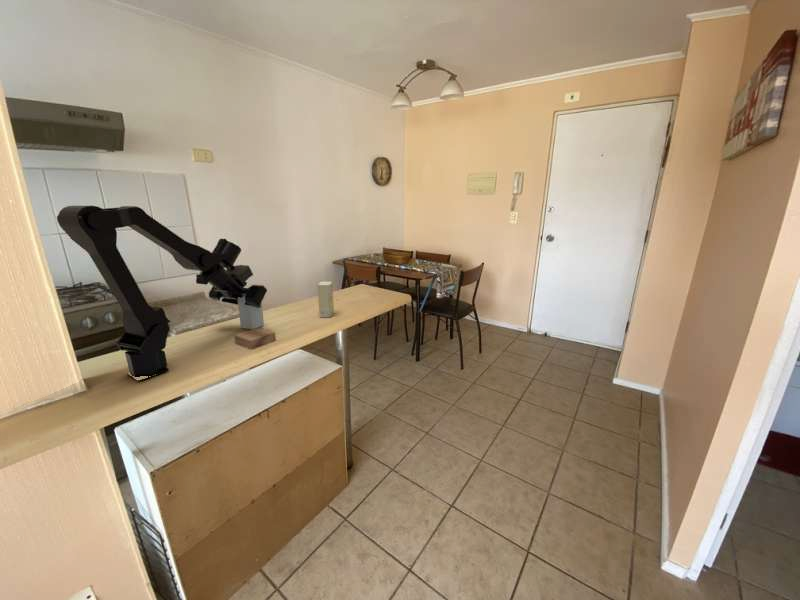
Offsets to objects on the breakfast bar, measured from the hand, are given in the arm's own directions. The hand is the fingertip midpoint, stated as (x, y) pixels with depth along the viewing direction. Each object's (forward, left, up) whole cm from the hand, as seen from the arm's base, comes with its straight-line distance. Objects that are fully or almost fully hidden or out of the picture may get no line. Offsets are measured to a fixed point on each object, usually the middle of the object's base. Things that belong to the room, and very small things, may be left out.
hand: (253, 305), depth 110 cm
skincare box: (+22, -11, -7) cm, 25 cm away
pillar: (-1, 0, -7) cm, 7 cm away
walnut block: (-8, -12, -7) cm, 17 cm away
